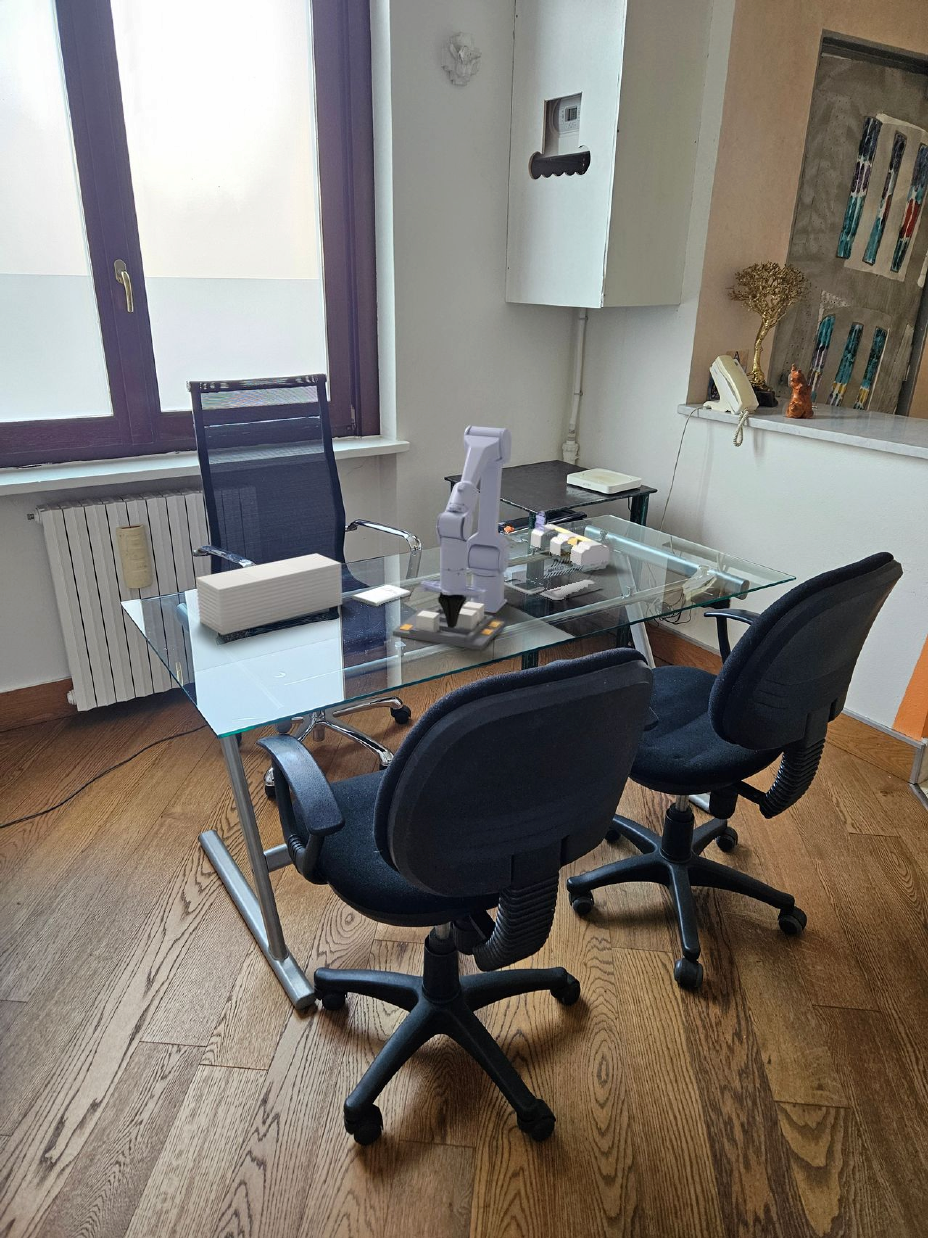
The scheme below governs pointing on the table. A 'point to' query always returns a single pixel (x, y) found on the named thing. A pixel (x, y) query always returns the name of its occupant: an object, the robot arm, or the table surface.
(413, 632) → the switch bank
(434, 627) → the white block
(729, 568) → the table surface
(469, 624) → the white block
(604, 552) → the diorama
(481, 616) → the white block
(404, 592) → the external hard drive
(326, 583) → the stack of papers
